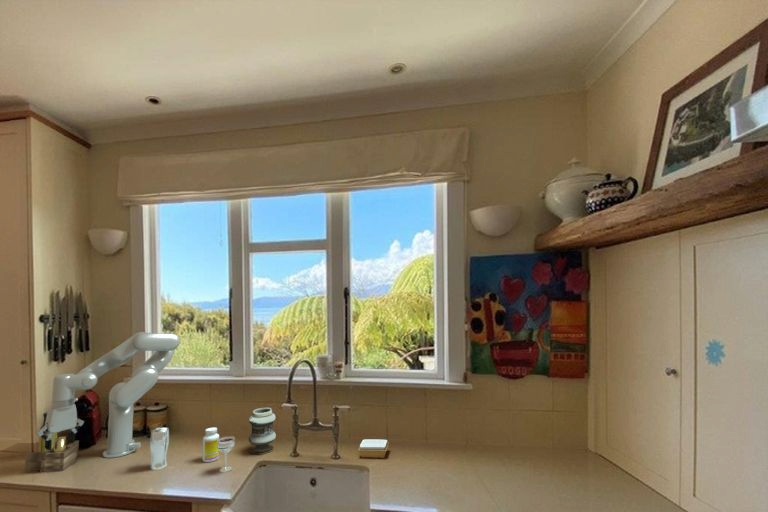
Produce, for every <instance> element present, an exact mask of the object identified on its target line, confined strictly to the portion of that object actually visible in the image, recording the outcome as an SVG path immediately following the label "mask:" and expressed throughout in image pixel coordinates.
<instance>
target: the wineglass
mask: <svg viewBox="0 0 768 512" xmlns="http://www.w3.org/2000/svg"><path fill="white" fill-rule="evenodd" d="M235 439H236V437H235V436H233V435H229V436H227V435H226V436H222V437H219V439H218V445H217V447H218V450H219V452H221V453H223V454H224V465H225V466H224V467H221V468H219V470H218V471H219V472H220V473H227V472H229V471H231V470H232V469H233V468H232V467H231V466H227V459H228V453H229V452H230V451H232V450H233V449H234V448H235V445H236V442H235Z"/></svg>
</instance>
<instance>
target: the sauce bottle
mask: <svg viewBox="0 0 768 512" xmlns="http://www.w3.org/2000/svg"><path fill="white" fill-rule="evenodd" d="M47 413H48V411H45V412H43V415H42V416H43V422H42V426H41V427H40V428H39V430H40V429H41V428H42V427H44V426H45V422H46V417H47ZM43 434H44V435H46V434H47V432H45V431H44V432H43ZM38 436H39V435H38ZM38 438H39V441H38V445H39V446H38V452H44V451H49V450H47V449H46V448H45V439H43V438H41V437H40V436H39V437H38ZM55 438H58V432H57V433H54V434H53V435H52V437H51V438H50V440H52V443H51V449H53V448H54V439H55ZM51 449H50V450H51Z"/></svg>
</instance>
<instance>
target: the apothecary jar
mask: <svg viewBox="0 0 768 512" xmlns="http://www.w3.org/2000/svg"><path fill="white" fill-rule="evenodd" d="M276 418H277V417H276V414H275V413H273V409H272V408H271V407H261V408H259V407H258V408H256V409H254V410H252V415H251V416H250V417H249V419H248V421H249V424H250V425H251V434H249V437H248V442H249V443H250V444H251V445H253V446H254V447H253V448H251V450H250V452H251V454H253V455H257V454H258V455H263V454H267V453H270V452H272V451H273V450H274V447H273V446H272V445H270V444H271V443H273V442H274V441H275V439H276V437H277V434H276V432H275V431H274V422H275V420H276Z"/></svg>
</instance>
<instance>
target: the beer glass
mask: <svg viewBox="0 0 768 512" xmlns="http://www.w3.org/2000/svg"><path fill="white" fill-rule="evenodd" d="M169 442H170V429H169V427H167V426H166V427H157V428H154V429H152V430H151V432H150V439H149V447H150V454H151V464H150V468H149V469H150V470H152V471H157V470H161V469H164V468H165V467H167V466H168V462H167V453H168V448H169V445H170V444H169Z"/></svg>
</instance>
